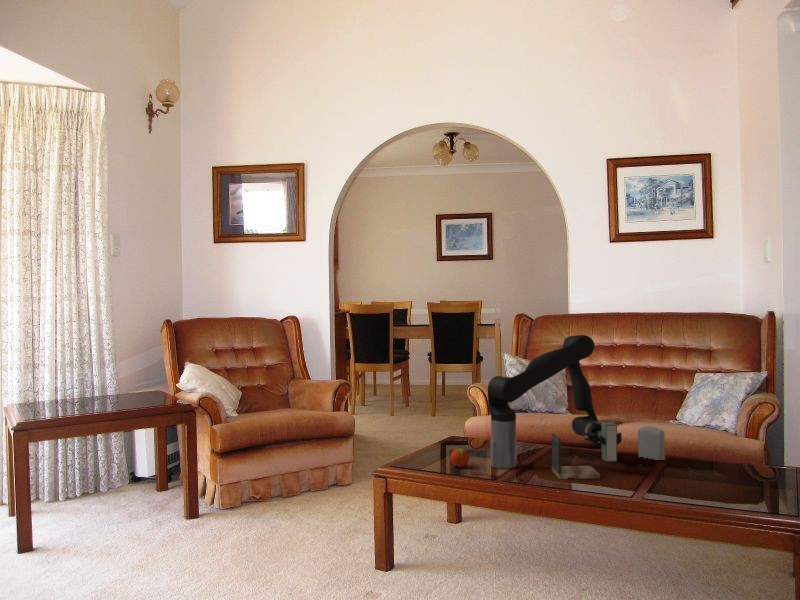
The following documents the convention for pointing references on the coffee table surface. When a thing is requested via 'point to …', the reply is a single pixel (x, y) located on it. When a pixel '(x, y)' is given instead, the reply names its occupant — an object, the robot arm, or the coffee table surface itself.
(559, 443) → the desktop book rack
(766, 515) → the coffee table surface
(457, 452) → the tomato
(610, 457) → the tall sage green prism
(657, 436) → the photo printer
